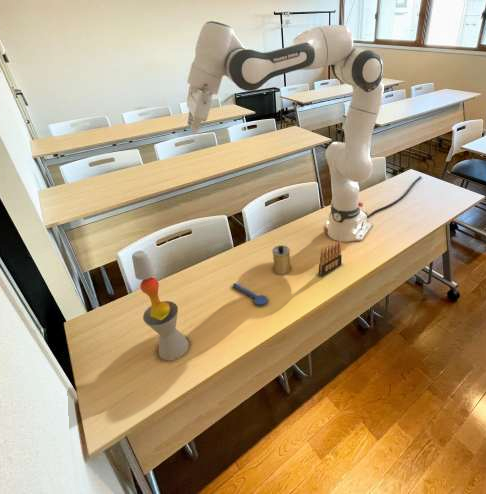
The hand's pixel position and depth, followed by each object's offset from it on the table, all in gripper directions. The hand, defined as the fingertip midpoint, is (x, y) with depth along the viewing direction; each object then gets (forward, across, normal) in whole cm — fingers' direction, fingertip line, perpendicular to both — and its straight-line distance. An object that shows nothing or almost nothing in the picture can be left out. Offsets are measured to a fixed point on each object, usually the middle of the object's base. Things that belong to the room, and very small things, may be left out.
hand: (191, 128), depth 103 cm
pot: (+38, -12, -43) cm, 59 cm away
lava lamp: (+57, -34, -6) cm, 67 cm away
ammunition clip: (+31, -19, -59) cm, 69 cm away
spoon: (+45, -21, -30) cm, 58 cm away
